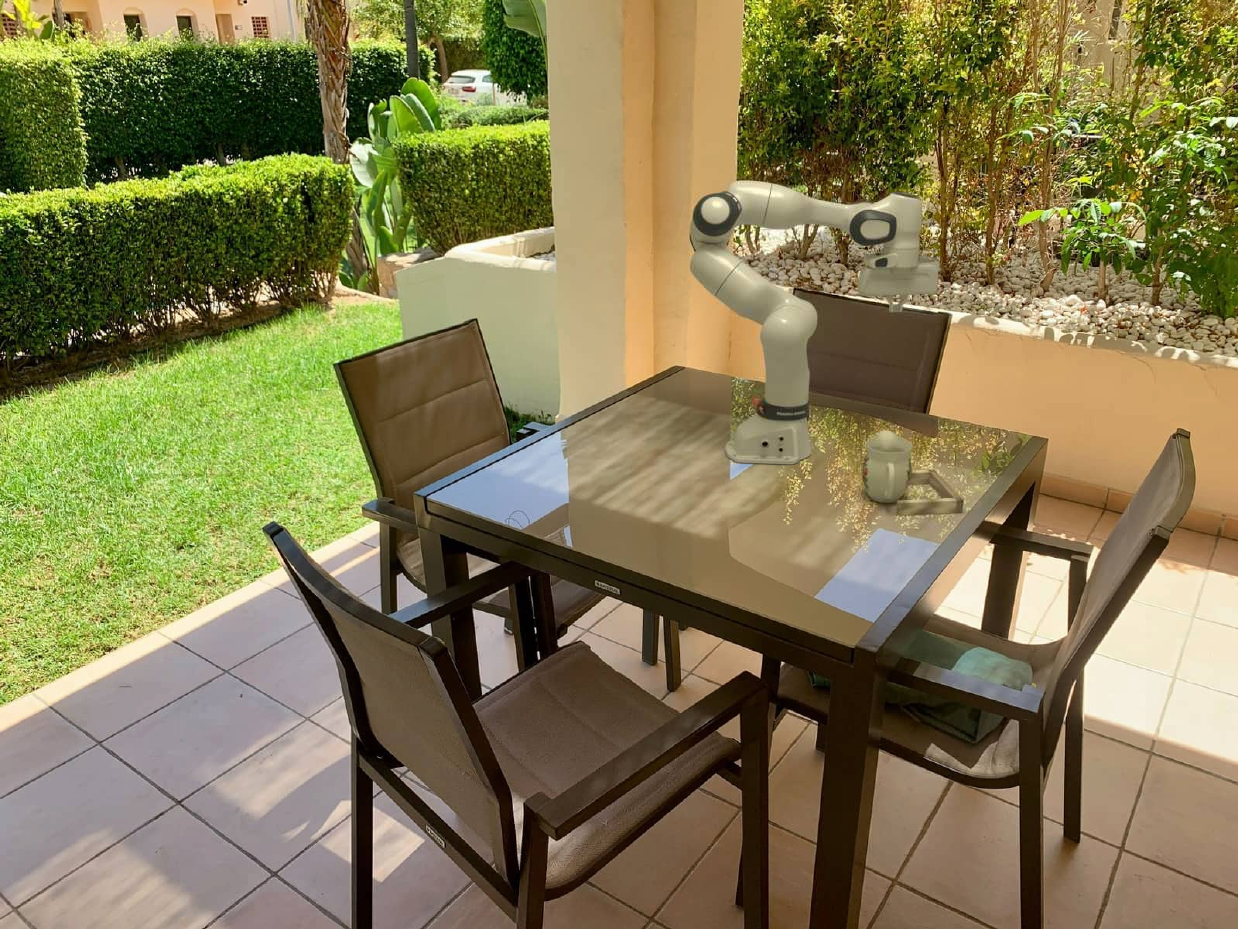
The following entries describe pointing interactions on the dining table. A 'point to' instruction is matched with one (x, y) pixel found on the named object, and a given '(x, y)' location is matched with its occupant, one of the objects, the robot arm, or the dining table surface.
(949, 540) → the dining table surface
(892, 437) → the pitcher
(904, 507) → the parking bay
